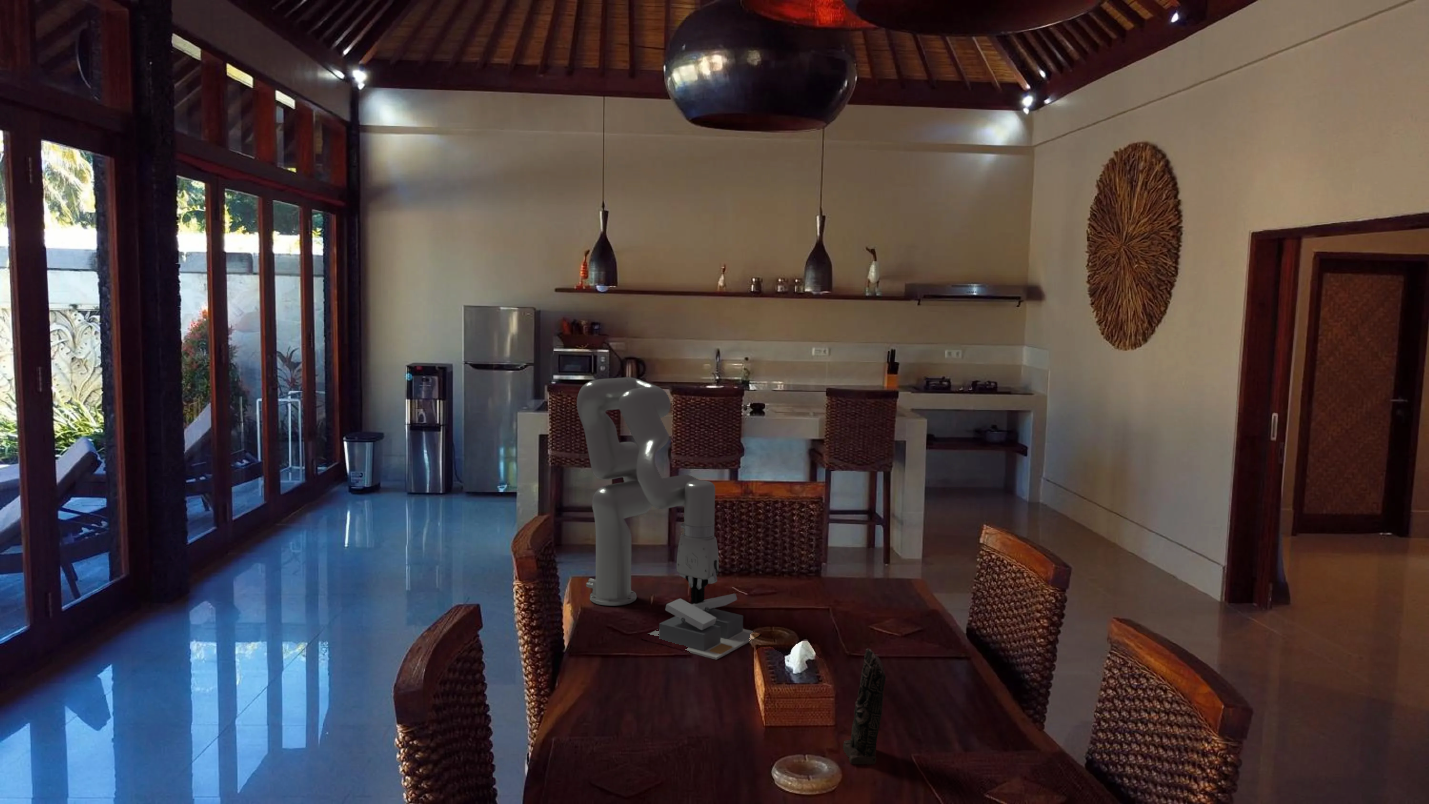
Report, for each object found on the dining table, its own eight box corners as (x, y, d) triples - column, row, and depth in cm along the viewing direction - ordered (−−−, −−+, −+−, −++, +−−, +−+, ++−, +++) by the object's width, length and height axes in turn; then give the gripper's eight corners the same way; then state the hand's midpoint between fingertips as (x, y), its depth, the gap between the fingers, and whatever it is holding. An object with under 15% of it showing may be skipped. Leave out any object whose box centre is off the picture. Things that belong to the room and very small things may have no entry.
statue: (841, 747, 184) (845, 644, 182) (879, 746, 185) (883, 643, 182) (849, 765, 177) (853, 657, 175) (888, 764, 178) (893, 657, 176)
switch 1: (664, 612, 237) (666, 604, 236) (678, 606, 241) (680, 598, 241) (701, 632, 231) (703, 624, 230) (714, 625, 236) (716, 617, 235)
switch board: (640, 639, 239) (640, 621, 238) (688, 617, 255) (688, 600, 255) (716, 659, 226) (716, 640, 226) (761, 635, 243) (761, 617, 243)
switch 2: (690, 614, 245) (687, 606, 245) (703, 609, 250) (700, 600, 250) (725, 607, 239) (722, 599, 239) (737, 602, 243) (735, 593, 244)
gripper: (665, 528, 246) (664, 600, 248) (715, 538, 237) (714, 612, 240) (683, 523, 252) (682, 593, 254) (732, 532, 244) (730, 604, 246)
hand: (697, 602), depth 247 cm, fingers closed
